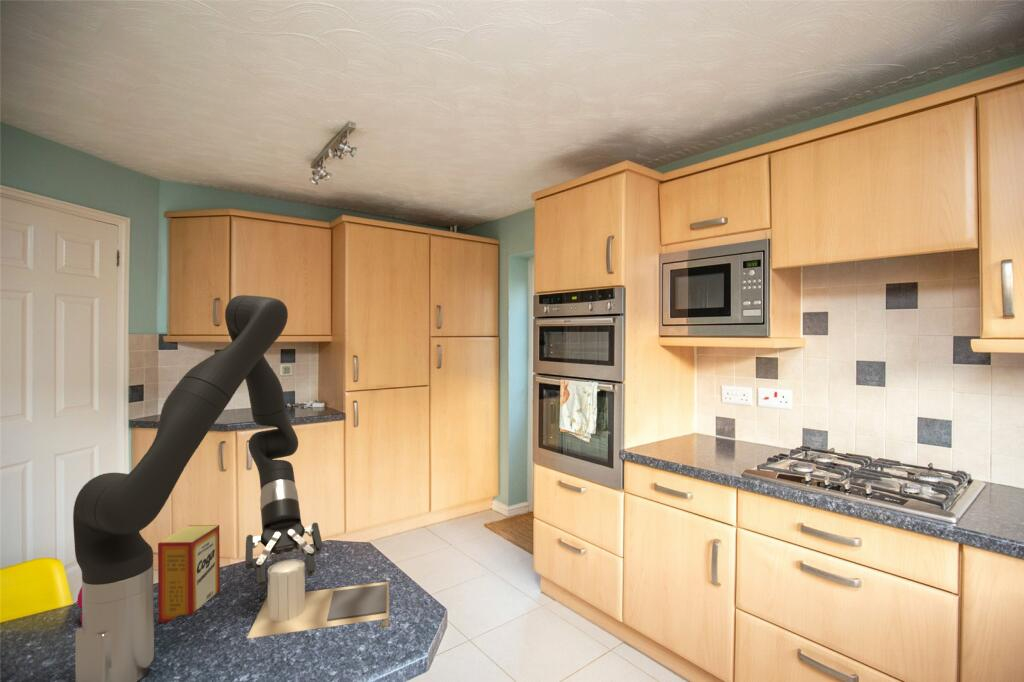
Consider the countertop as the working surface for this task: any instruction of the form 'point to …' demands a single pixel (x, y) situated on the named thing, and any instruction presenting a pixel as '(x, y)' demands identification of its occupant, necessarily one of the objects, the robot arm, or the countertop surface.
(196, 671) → the countertop surface
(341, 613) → the board
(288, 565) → the cover cup
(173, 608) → the red cream cardboard box
